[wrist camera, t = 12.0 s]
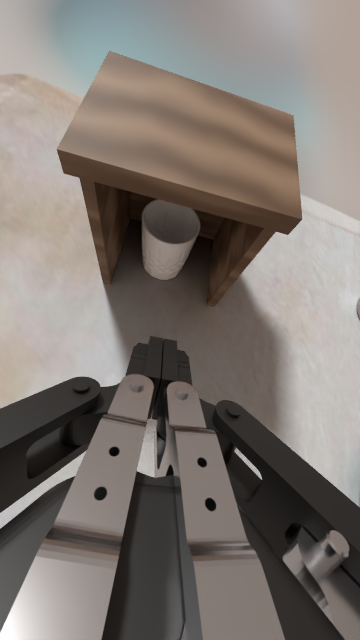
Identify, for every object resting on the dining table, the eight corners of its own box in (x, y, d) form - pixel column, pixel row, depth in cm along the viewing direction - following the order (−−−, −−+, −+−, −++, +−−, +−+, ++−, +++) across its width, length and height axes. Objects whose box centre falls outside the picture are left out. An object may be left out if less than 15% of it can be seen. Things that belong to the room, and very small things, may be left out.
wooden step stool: (221, 308, 39) (302, 219, 20) (94, 280, 36) (56, 149, 18) (226, 234, 45) (293, 115, 26) (118, 206, 42) (109, 50, 24)
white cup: (193, 267, 41) (212, 227, 31) (160, 292, 38) (170, 254, 28) (164, 237, 42) (173, 189, 32) (129, 258, 39) (129, 212, 29)
